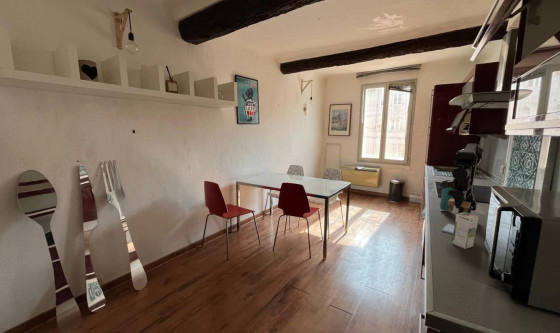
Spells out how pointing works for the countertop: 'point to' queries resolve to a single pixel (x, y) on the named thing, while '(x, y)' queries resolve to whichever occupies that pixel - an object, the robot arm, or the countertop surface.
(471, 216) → the syrup box
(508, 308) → the countertop surface
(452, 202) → the block with dowel legs
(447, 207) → the beverage bottle
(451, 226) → the board
